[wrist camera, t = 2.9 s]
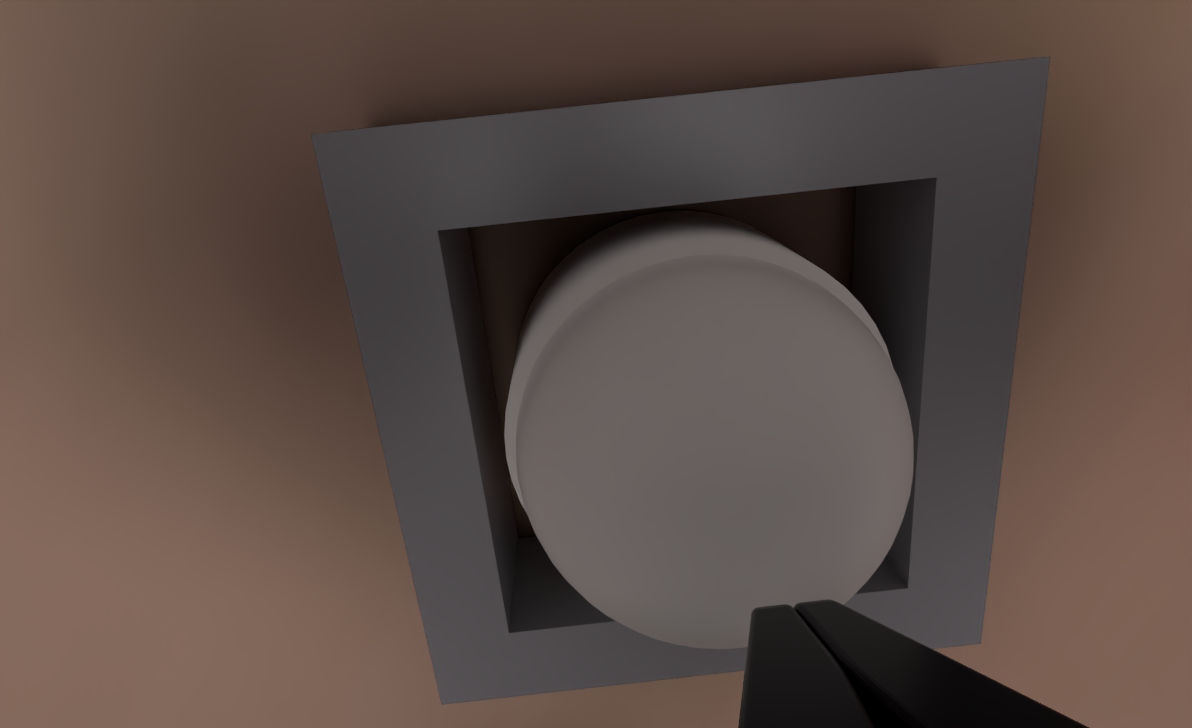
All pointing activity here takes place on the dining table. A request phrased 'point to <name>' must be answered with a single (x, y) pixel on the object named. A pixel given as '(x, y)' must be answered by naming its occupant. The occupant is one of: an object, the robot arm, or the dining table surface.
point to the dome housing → (665, 178)
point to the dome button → (705, 428)
